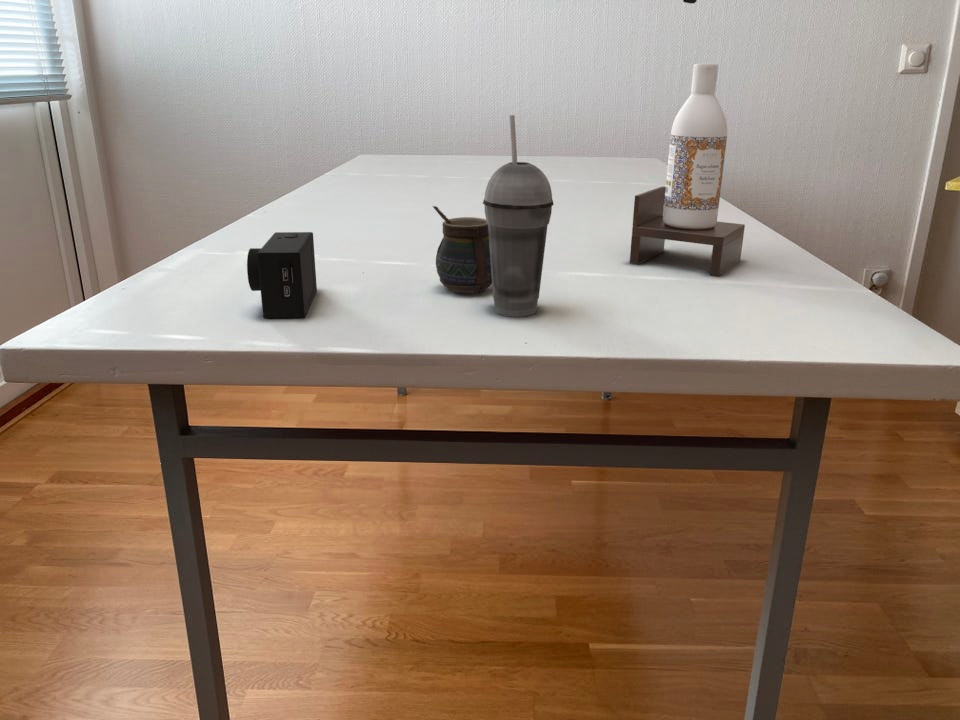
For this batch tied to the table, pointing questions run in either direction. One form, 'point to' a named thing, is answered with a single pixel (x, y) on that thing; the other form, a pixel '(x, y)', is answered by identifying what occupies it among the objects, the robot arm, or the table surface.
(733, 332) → the table surface
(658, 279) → the table surface
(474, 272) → the mate gourd
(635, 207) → the chair
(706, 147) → the bath foam
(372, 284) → the table surface
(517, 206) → the beverage cup
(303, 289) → the digital camera
